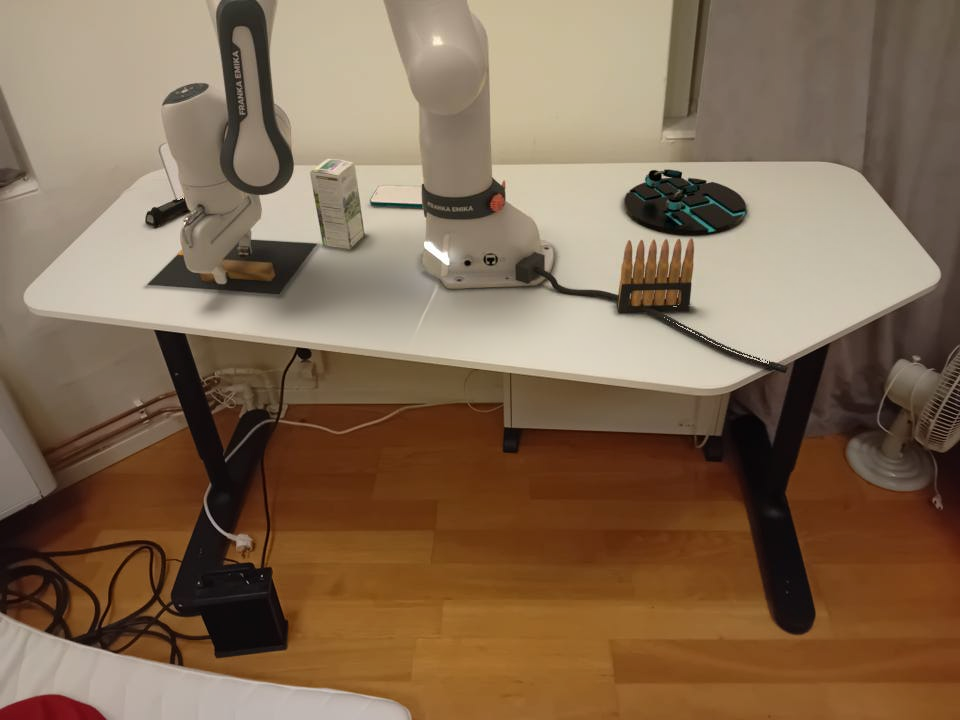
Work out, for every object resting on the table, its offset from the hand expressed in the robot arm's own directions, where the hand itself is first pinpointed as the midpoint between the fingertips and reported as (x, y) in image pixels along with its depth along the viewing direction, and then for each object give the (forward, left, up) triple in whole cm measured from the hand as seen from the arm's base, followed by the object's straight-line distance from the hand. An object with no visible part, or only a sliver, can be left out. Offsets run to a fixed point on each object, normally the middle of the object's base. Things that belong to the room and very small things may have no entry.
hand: (235, 268), depth 126 cm
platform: (-74, -34, -2) cm, 82 cm away
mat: (+2, -4, -2) cm, 5 cm away
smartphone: (-22, -32, -2) cm, 39 cm away
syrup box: (-14, -14, -2) cm, 20 cm away
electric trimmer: (+23, -23, -2) cm, 32 cm away
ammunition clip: (-69, +1, -2) cm, 69 cm away
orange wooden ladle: (0, 0, -2) cm, 2 cm away
